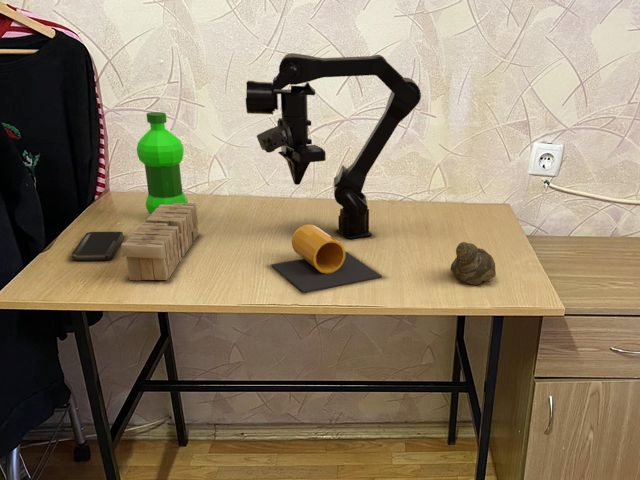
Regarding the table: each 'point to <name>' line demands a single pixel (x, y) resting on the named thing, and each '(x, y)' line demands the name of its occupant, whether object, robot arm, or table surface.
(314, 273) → the mat
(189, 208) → the block tower
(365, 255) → the table surface
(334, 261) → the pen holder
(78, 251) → the phone
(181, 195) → the plastic bottle
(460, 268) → the seashell
